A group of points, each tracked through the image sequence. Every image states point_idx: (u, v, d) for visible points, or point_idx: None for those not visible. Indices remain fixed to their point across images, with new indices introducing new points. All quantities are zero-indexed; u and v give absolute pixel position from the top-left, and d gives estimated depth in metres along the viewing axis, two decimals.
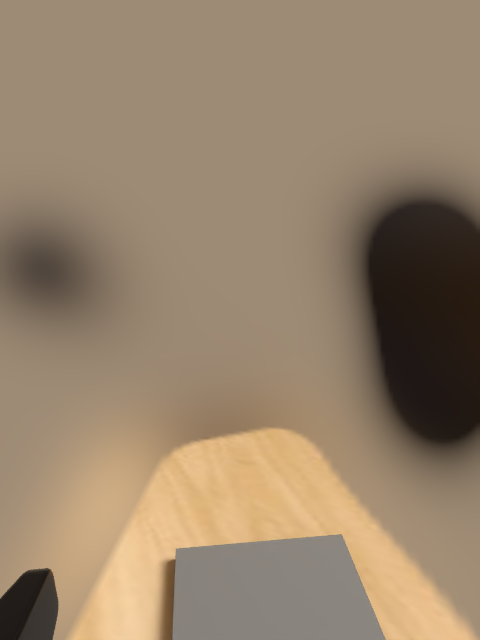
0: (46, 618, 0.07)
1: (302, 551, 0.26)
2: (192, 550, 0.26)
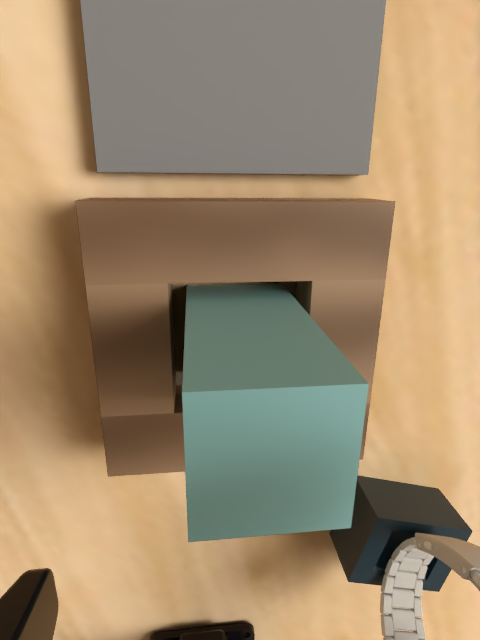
0: (46, 618, 0.07)
1: None
2: None
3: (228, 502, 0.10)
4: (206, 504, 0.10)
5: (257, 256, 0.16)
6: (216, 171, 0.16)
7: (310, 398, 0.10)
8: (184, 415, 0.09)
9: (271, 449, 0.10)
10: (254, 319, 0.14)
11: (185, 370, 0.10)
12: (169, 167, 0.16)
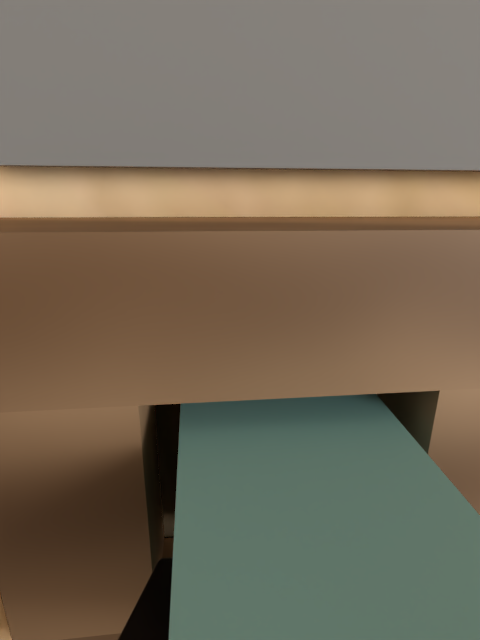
0: None
1: None
2: None
3: None
4: None
5: (332, 346, 0.07)
6: (242, 164, 0.08)
7: None
8: None
9: None
10: (349, 538, 0.06)
11: None
12: (142, 155, 0.08)
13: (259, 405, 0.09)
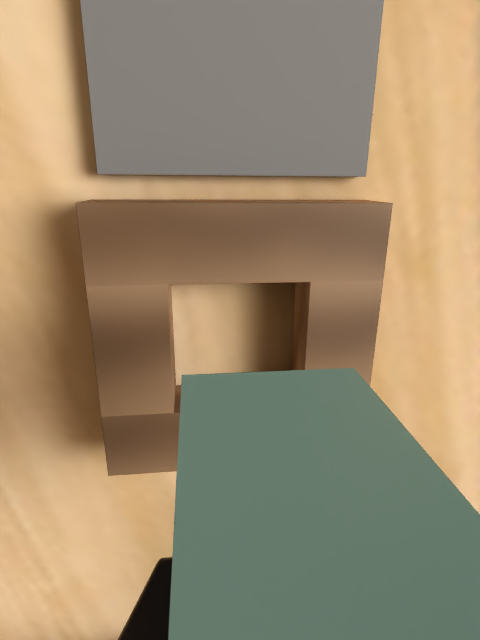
0: None
1: None
2: None
3: None
4: None
5: (256, 258, 0.16)
6: (215, 173, 0.17)
7: None
8: None
9: None
10: (348, 537, 0.06)
11: None
12: (168, 169, 0.16)
13: (259, 404, 0.09)
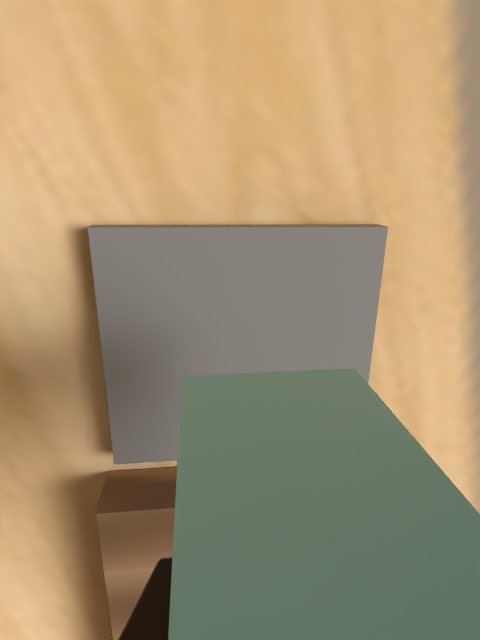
0: None
1: (310, 254, 0.16)
2: (119, 234, 0.14)
3: None
4: None
5: None
6: None
7: None
8: None
9: None
10: (349, 540, 0.06)
11: None
12: None
13: (259, 405, 0.09)
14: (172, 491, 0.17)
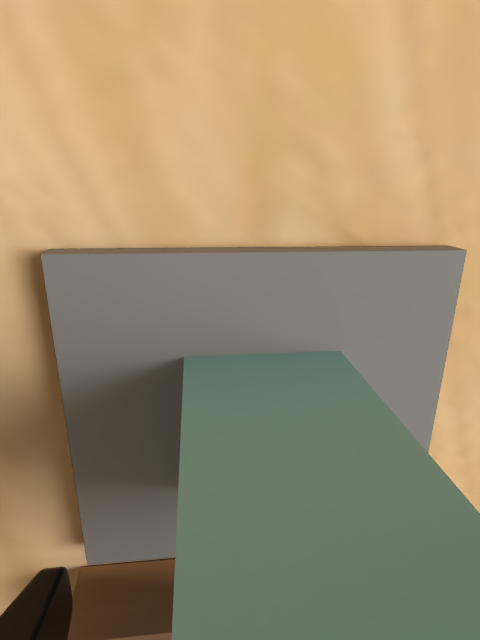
0: (62, 616, 0.07)
1: (357, 288, 0.11)
2: (86, 263, 0.10)
3: None
4: None
5: None
6: None
7: None
8: None
9: None
10: (325, 480, 0.07)
11: None
12: (174, 552, 0.13)
13: (253, 380, 0.10)
14: (165, 602, 0.13)
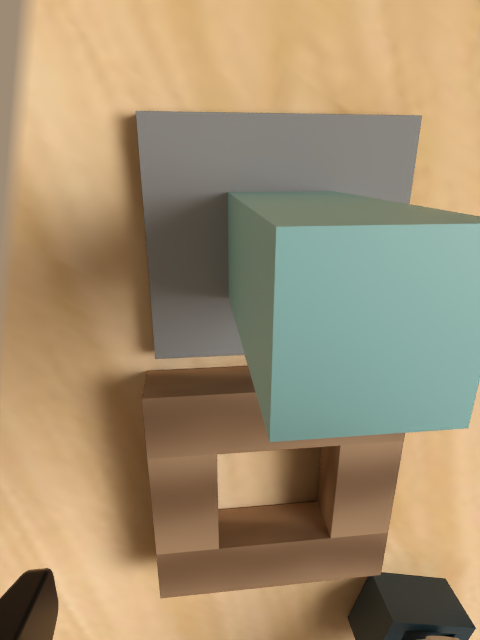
0: (46, 618, 0.07)
1: (346, 143, 0.16)
2: (165, 118, 0.15)
3: (323, 388, 0.08)
4: (296, 391, 0.08)
5: None
6: None
7: (439, 241, 0.07)
8: (277, 261, 0.07)
9: (383, 315, 0.08)
10: (324, 201, 0.12)
11: (268, 219, 0.08)
12: (217, 352, 0.19)
13: (277, 194, 0.15)
14: (211, 383, 0.18)
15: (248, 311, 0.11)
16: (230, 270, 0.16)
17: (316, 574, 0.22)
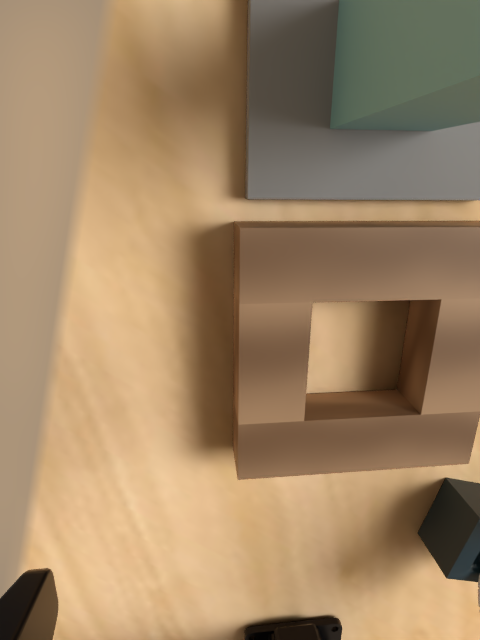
0: (46, 618, 0.07)
1: None
2: None
3: None
4: None
5: (395, 277, 0.17)
6: (354, 198, 0.18)
7: None
8: None
9: None
10: None
11: None
12: (312, 194, 0.17)
13: None
14: (308, 225, 0.17)
15: (419, 23, 0.10)
16: (340, 83, 0.15)
17: (402, 459, 0.21)
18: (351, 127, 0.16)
